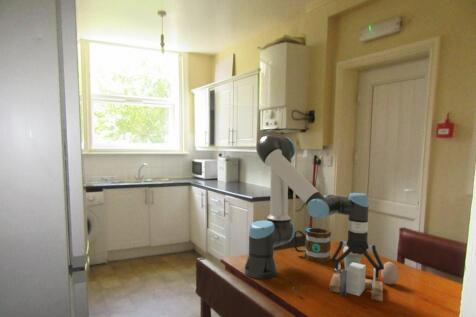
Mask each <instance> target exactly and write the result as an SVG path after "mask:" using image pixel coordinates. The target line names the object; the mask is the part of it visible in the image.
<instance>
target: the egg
mask: <svg viewBox="0 0 476 317" xmlns="http://www.w3.org/2000/svg"><path fill="white" fill-rule="evenodd" d="M383 266H384V269H383V270H382V269H381V271H380V272H381V274H380V275H381V279H382V280H383V281H384V283H385V284H386V285H391V286H392V285H394V284H395V283H397V282H398V279H399V271H398V267H397V266H396V264H394V263H393V262H391V261H387V262H385V263H384V264H383Z"/></svg>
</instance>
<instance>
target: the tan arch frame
mask: <svg viewBox="0 0 476 317" xmlns="http://www.w3.org/2000/svg"><path fill="white" fill-rule="evenodd" d="M328 288H329V292H333V293H338V294H340V280H338V273H336V272H333V273H332V277H331V279H330V283H329V286H328ZM365 289H367V290H368V289H370V290H371V300H374V301H379V302H383V301H384V300H383V299H384V293H383V281H379V280H375V287H374V286H373V279H368V278H365Z"/></svg>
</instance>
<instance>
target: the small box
mask: <svg viewBox="0 0 476 317" xmlns="http://www.w3.org/2000/svg"><path fill="white" fill-rule="evenodd" d="M366 268H367V266H366V264H363V263H360V264H358V263H354V262H352V263H351V264H350V265H349V266H348V267H347V282H346V294H351V295H354V296H357V297H360V296H361V295H362V294H363V292H364V291H365V289H366V288H365V279H366V272H367V271H366V270H367V269H366Z"/></svg>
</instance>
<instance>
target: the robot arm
mask: <svg viewBox="0 0 476 317" xmlns="http://www.w3.org/2000/svg"><path fill="white" fill-rule="evenodd" d="M256 153H257V155H258V157H259V159H260V160H261V162H262V163H263V164H265V165H266V166H269V167H270V198H269V199H270V203H269V204H270V205H269V206H270V208H269V209H270V214H268V215H267V217H266V220H257V221H254V222H252V223H250V225H249V228H248V229H249V230H248V256H247V259H246V262H245V265H244V275H246V276H248V277H250V278H252V279H253V278H255V279H263V280H264V279H271V278H273V277H274V278H275V277H276V276H277V274H278V273H277V272H278V267H277V264H276V261H275V258H274V254H275V253H274V249H275V248H276V247H278V246H283V245H285V244H288V243H290V242H291V241H292V240H293V239H294V234H295V231H296V230H295V225H294V224H293V222H292V221H291V219H292V218H291V216H289V214H288V203H289V202H288V199H289V195H288V194H289V189H288V188H290V189H291V190H292V192H294V193H295V195H297V196H298V198H299V199H300V200H301V201H302V202H303V203H304V204H305V205H306V210H307V213H308V215H309V216H310V217H312V218H314V219H323V218H326V217H327V216H332V215H335V214H339V215H345V216H348V226H347V229H348V232H347V241H344V240H343V239H340V241H339V245H338V247H337V249H336V250H335V252H334V254H333V255H332V257H331V258H330V261H331V262H332V263H334V265H335V266H334V267H335V268H334V269H339V270H341V267H342V266H341V264H342V263H341V261H344V258H345V257H346V256H347V255H348V254H349V253H350V252H352V253H353V254H360V255H361V256H362V255H363V256H364V257H365V258H366V259H367V260H368V262H369V263H370V264H371V265H372V268H373V277H372V278H373V279H372V280H373V286H374V287H375V281H376V279H379V275H380V274H379V272H380V270H381V271H382V270H383V269H384V264H383V261H382V260H381V257H380V256H379V253H378V252H377V248H376V247H377V246H376V244H375V243H373V244H369V242H368V237H369V236H368V234H369V233H368V231H369V207H370V204H369V202H370V201H369V196H368V195H367V194H366V193H362V192H360V193H359V192H350V193H349V194H348V196H341V195H333V194H321V192H320V191H319V190H318V189H317V188H316V187H315V186H314V185H313V184H312V183H311V182H310V181H309V180H308V179H307V177H305V176H304V175H303V174H302V173H301V172H300V171H299V170H298V169H297V168H296V167H295V166H294V165H293V163H292V159H293V157H294V156H295V154H296V145H295V143H294V140H292V139H291V138H290V137H288V136H285V135H284V136H283V135H271V134H267V135H264V136H262V137H261V138H260V139H258V142H257V143H256ZM345 246H348V249H347V250H346V251H345V252H343V253H342V254H341V255H340V256H339V257H338V255H339V253H340V252H341V250H342V248H343V247H345ZM368 248H369V249H370V251H372V253H373V256H374V258H375V259H376V261H377V263H378V264H377V263H376V261H375V260H374V259H373V257H372V256H371V255H370V254H369V253H368V251H367V250H368ZM337 257H338V258H337ZM337 274H338V280H340V273H338V272H337Z"/></svg>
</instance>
